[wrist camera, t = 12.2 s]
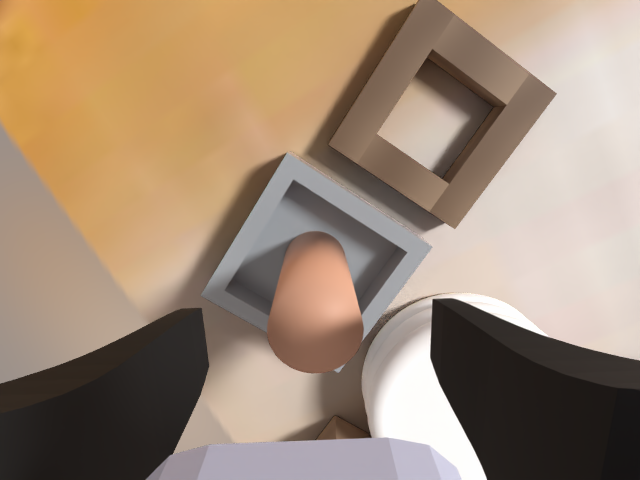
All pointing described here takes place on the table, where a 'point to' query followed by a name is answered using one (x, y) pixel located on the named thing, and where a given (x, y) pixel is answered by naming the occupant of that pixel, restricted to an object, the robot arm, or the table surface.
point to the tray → (314, 215)
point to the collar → (472, 71)
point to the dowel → (315, 306)
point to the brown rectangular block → (341, 431)
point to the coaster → (421, 383)
